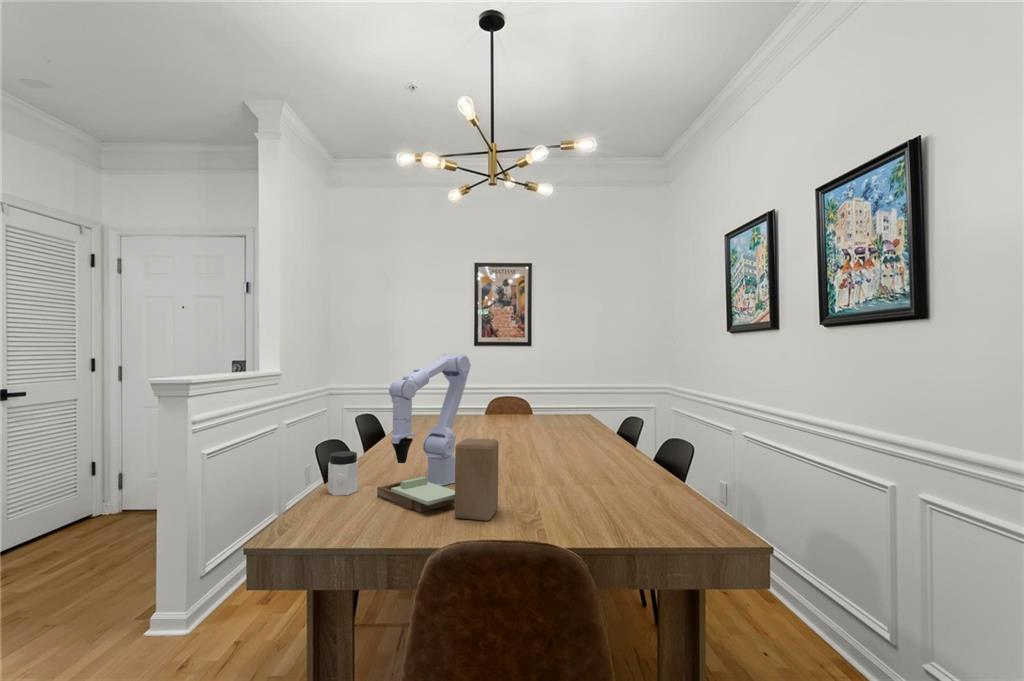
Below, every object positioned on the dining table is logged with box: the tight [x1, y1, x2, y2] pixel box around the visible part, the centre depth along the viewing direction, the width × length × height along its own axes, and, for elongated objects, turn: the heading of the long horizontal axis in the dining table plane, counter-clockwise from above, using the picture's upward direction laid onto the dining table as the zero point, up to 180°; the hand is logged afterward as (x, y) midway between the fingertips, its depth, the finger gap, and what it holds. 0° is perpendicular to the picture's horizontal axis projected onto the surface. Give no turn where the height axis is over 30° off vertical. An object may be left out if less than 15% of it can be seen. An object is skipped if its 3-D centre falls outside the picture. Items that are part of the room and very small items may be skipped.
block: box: [454, 437, 499, 522], centre depth 139 cm, size 10×10×20 cm
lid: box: [391, 476, 455, 505], centre depth 147 cm, size 12×18×3 cm, turn 45°
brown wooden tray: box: [376, 481, 455, 513], centre depth 154 cm, size 18×21×3 cm
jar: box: [327, 450, 359, 497], centre depth 160 cm, size 9×8×12 cm
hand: (401, 462), depth 157 cm, fingers closed
